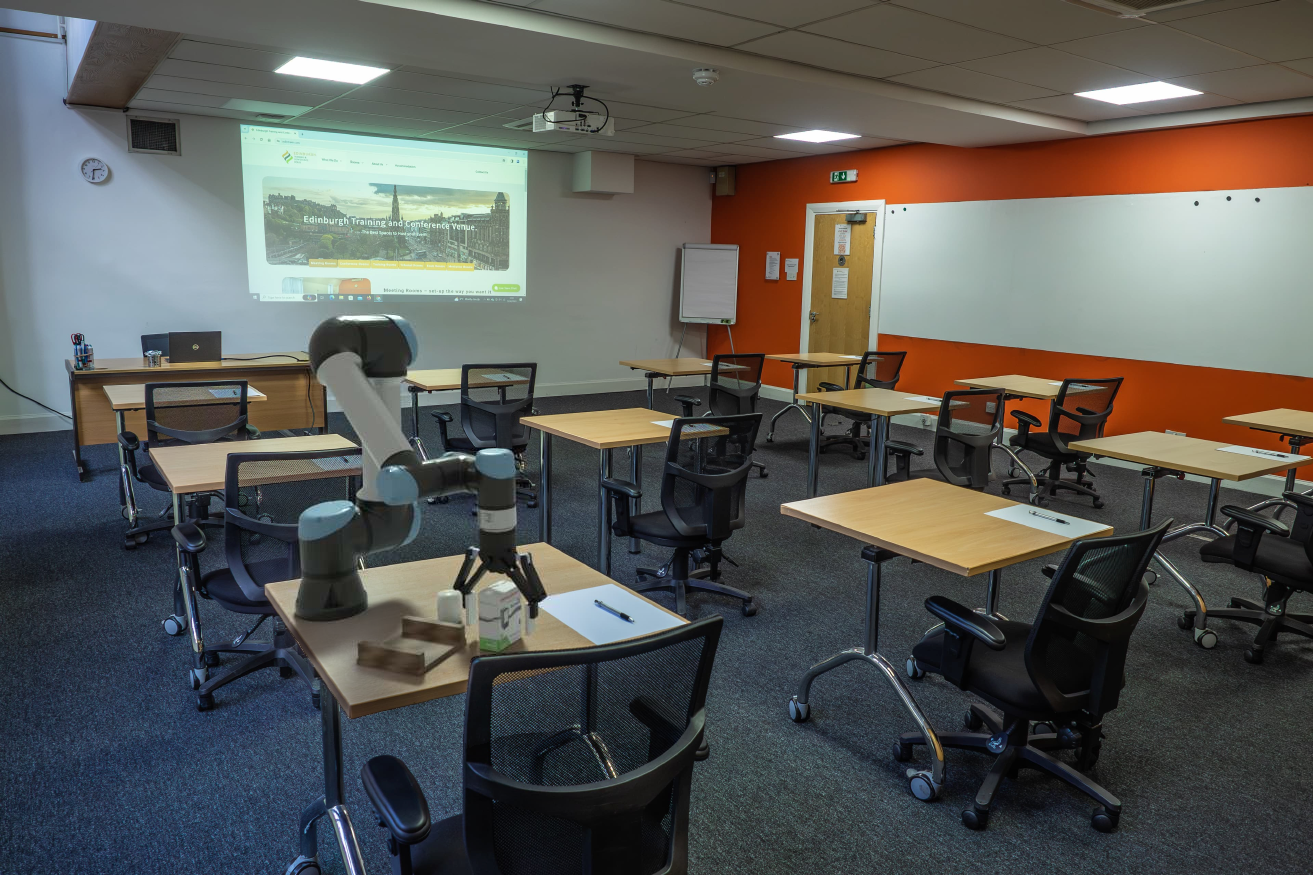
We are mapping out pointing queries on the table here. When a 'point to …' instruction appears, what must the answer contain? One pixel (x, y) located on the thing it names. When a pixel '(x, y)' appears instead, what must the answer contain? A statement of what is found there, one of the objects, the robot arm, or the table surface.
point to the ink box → (499, 616)
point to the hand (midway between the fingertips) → (500, 628)
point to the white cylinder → (449, 606)
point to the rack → (413, 646)
